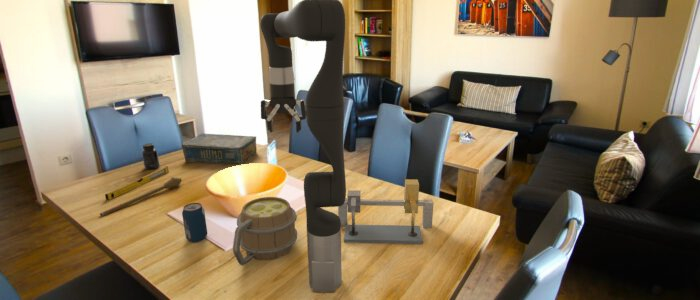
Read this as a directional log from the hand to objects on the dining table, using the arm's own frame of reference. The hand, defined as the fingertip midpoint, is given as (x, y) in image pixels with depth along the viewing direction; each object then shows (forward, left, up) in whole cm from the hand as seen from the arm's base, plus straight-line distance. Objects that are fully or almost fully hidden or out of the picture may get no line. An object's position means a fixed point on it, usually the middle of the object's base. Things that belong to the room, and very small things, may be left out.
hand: (284, 131), depth 131 cm
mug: (-13, +6, -36) cm, 39 cm away
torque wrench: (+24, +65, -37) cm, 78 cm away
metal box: (+75, +51, -37) cm, 98 cm away
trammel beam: (+2, -33, -36) cm, 49 cm away
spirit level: (+38, +75, -37) cm, 92 cm away
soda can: (-6, +31, -36) cm, 48 cm away
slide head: (+2, -42, -35) cm, 54 cm away
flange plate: (-2, -32, -36) cm, 48 cm away
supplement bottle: (+59, +80, -36) cm, 106 cm away
